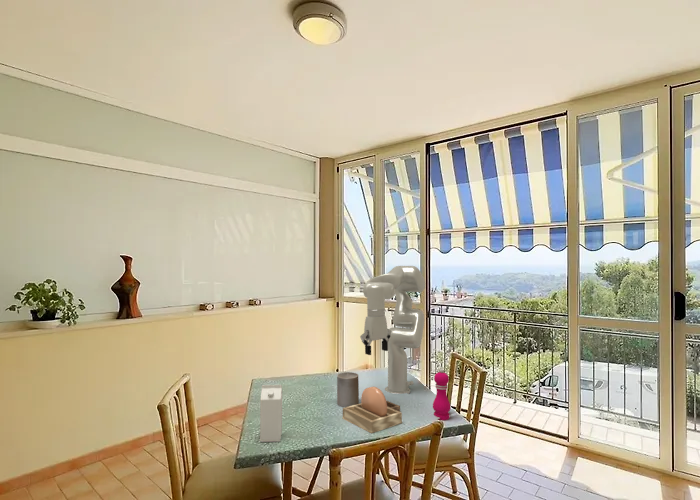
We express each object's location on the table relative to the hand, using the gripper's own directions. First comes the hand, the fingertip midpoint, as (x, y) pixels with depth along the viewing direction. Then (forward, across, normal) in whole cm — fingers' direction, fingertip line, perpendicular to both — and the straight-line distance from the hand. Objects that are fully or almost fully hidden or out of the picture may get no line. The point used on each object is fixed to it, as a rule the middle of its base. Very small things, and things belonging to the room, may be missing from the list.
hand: (376, 352), depth 173 cm
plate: (+23, +11, +9) cm, 27 cm away
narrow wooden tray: (+25, -2, +1) cm, 25 cm away
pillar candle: (+25, +7, -12) cm, 29 cm away
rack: (+24, +12, +9) cm, 28 cm away
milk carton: (+23, +49, -3) cm, 55 cm away
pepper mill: (+26, -15, +22) cm, 37 cm away
